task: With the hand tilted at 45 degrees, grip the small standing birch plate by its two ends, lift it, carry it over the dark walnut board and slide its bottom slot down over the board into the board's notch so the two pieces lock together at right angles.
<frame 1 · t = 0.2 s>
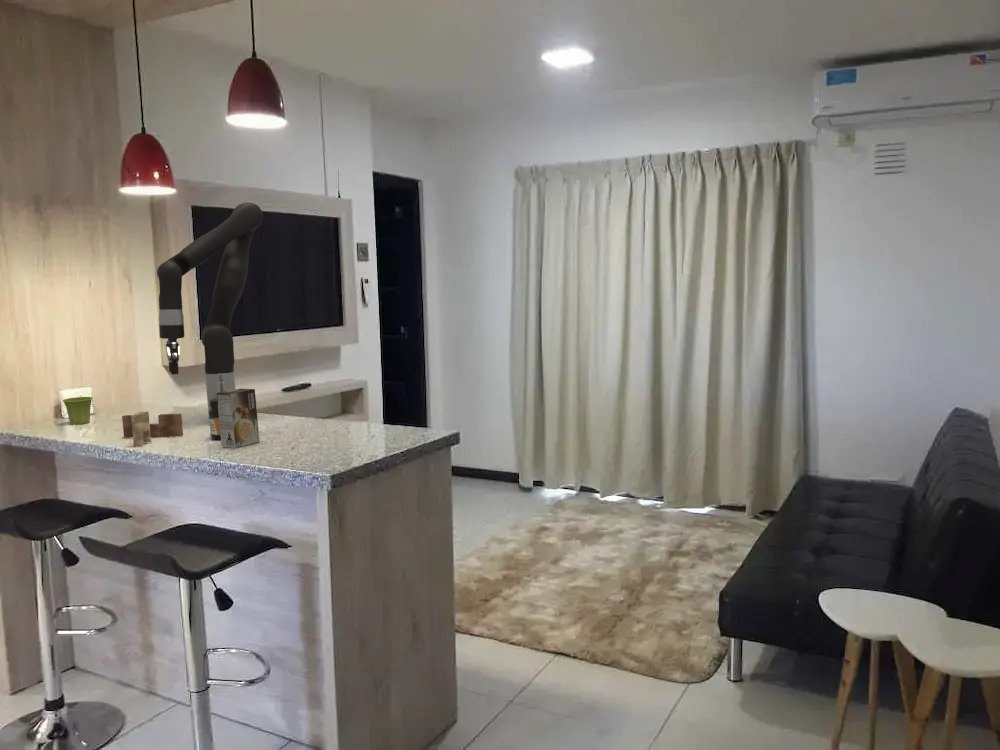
hand: (173, 373, 267), 18 cm above the worktop, tool pointing down, fingers open, 8 cm apart
plant pot: (80, 423, 286), on the worktop
supplement container: (228, 437, 251), on the worktop
coffee box: (240, 445, 239), on the worktop
birch plate: (142, 444, 245), on the worktop
walnut board: (153, 436, 256), on the worktop
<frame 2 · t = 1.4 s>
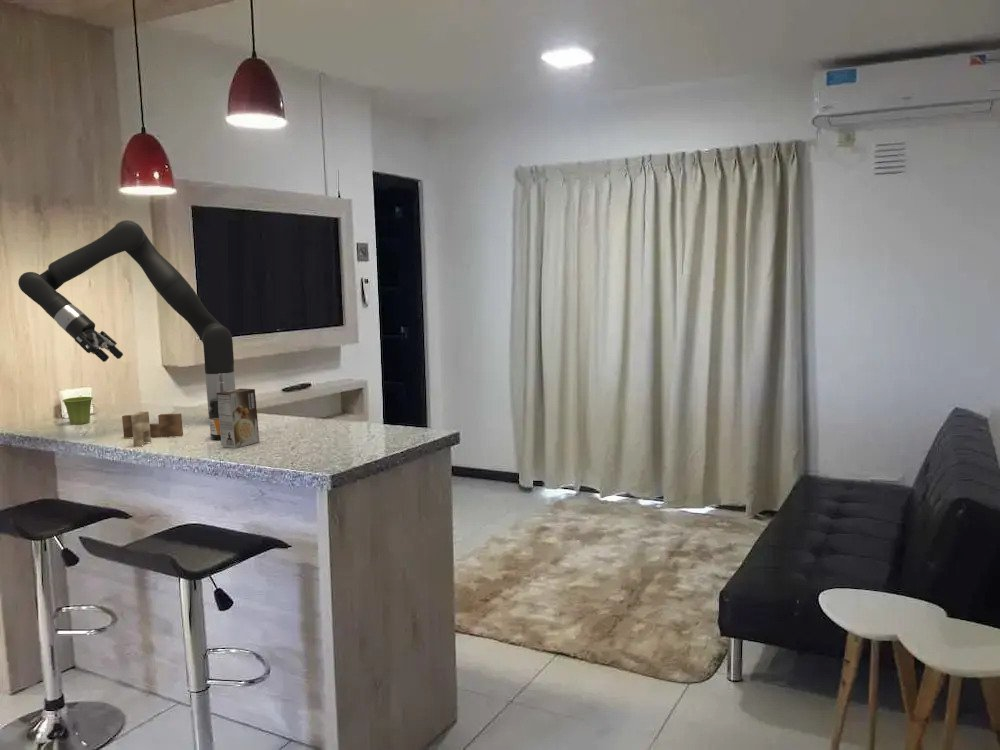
hand: (114, 358, 253), 25 cm above the worktop, tool tilted 45°, fingers open, 8 cm apart
nothing on the worktop moved.
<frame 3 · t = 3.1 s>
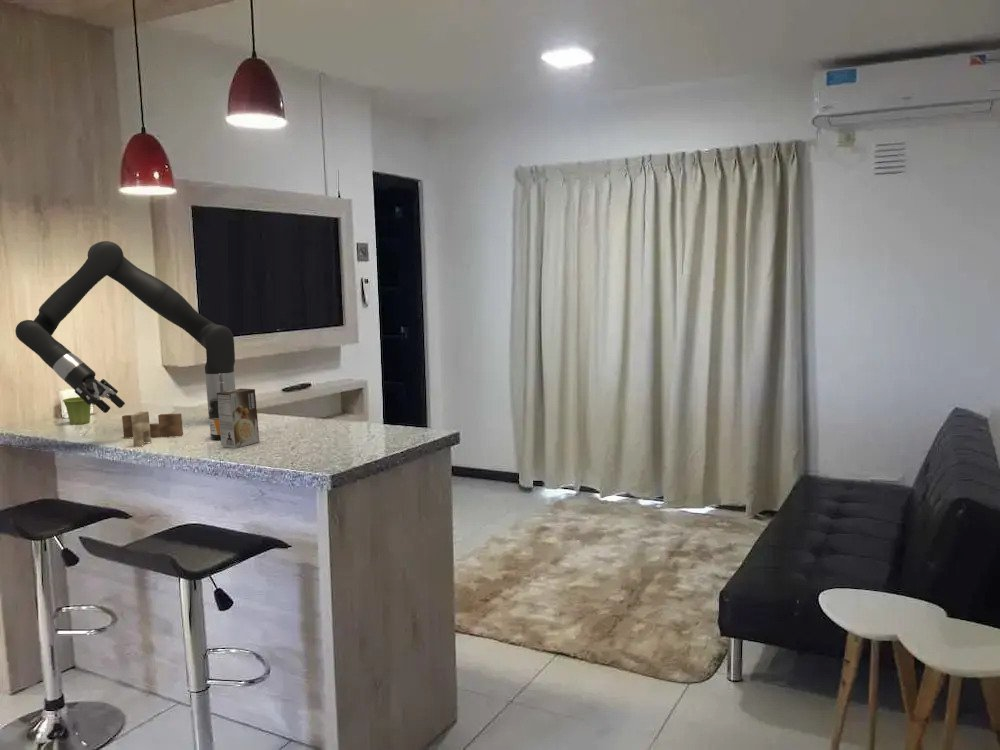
hand: (115, 408, 244), 11 cm above the worktop, tool tilted 45°, fingers open, 8 cm apart
nothing on the worktop moved.
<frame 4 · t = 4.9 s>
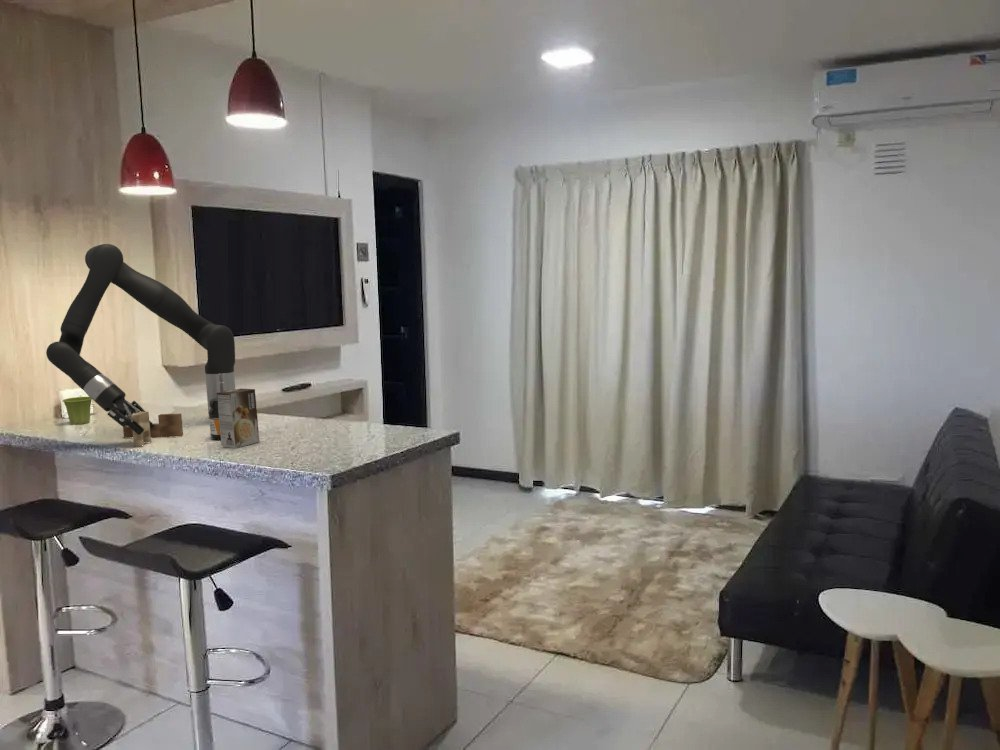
hand: (147, 430, 244), 4 cm above the worktop, tool tilted 45°, fingers closed on birch plate, 6 cm apart
birch plate: (142, 444, 245), on the worktop, touching gripper
everything else where it was.
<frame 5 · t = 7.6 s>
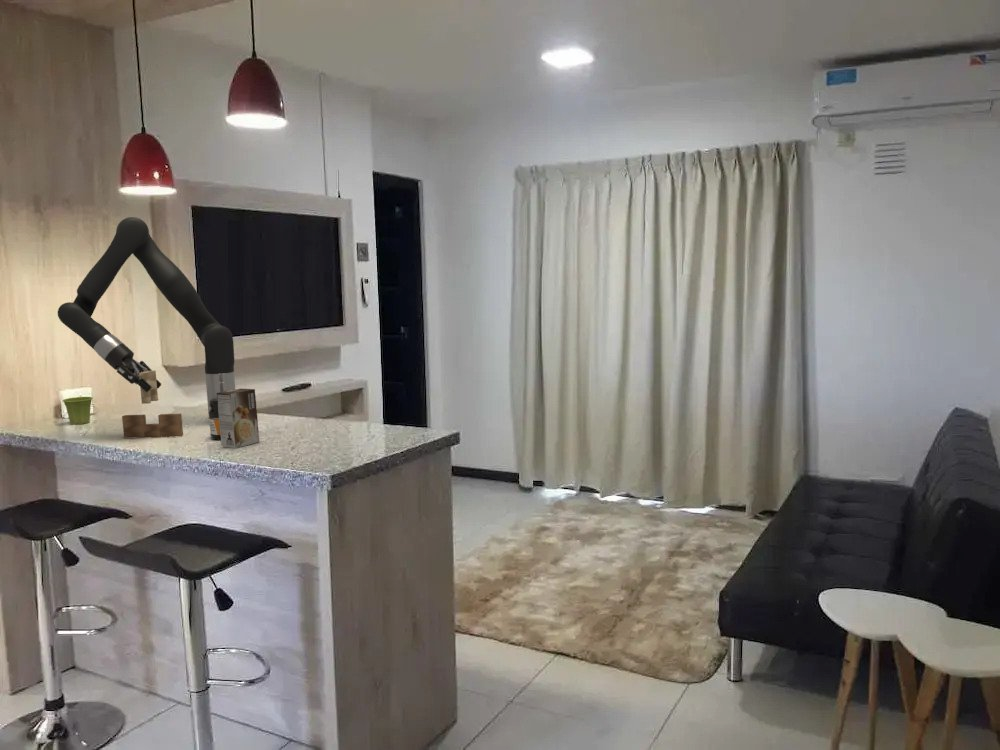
hand: (154, 388, 254), 15 cm above the worktop, tool tilted 45°, fingers closed on birch plate, 6 cm apart
birch plate: (150, 402, 255), point 11 cm above the worktop, touching gripper
everything else where it was.
when the fingers open (6 cm above the worktop, at t = 10.2 s): birch plate drops 1 cm, resting on walnut board.
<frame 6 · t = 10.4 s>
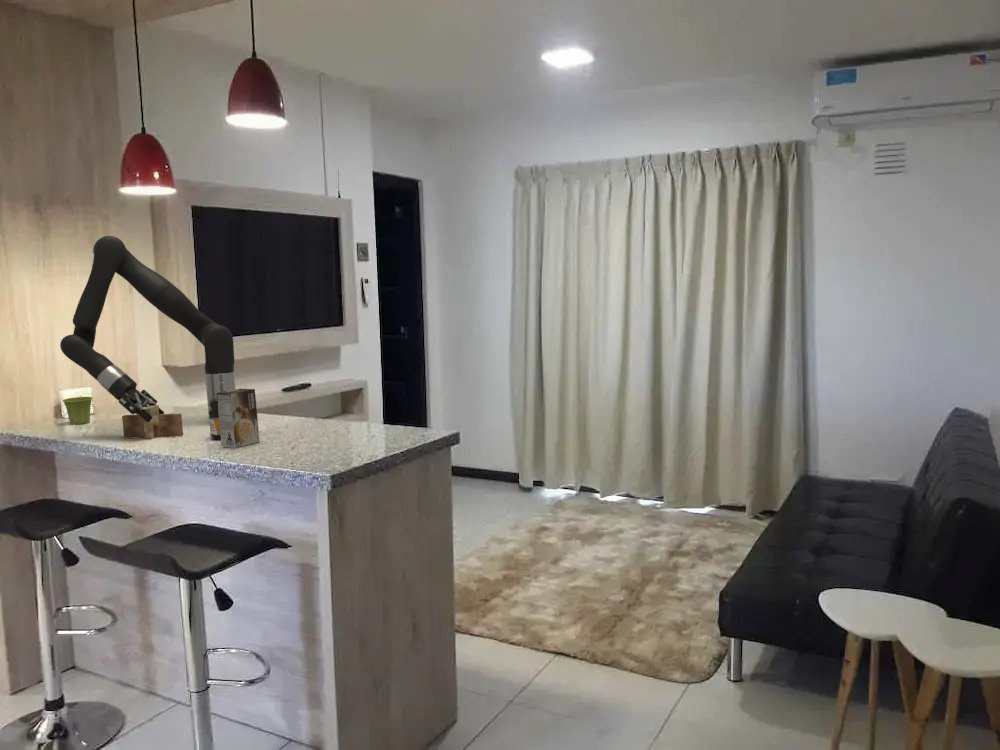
hand: (156, 417, 255), 6 cm above the worktop, tool tilted 45°, fingers open, 7 cm apart
birch plate: (153, 436, 256), resting on walnut board
everything else where it was.
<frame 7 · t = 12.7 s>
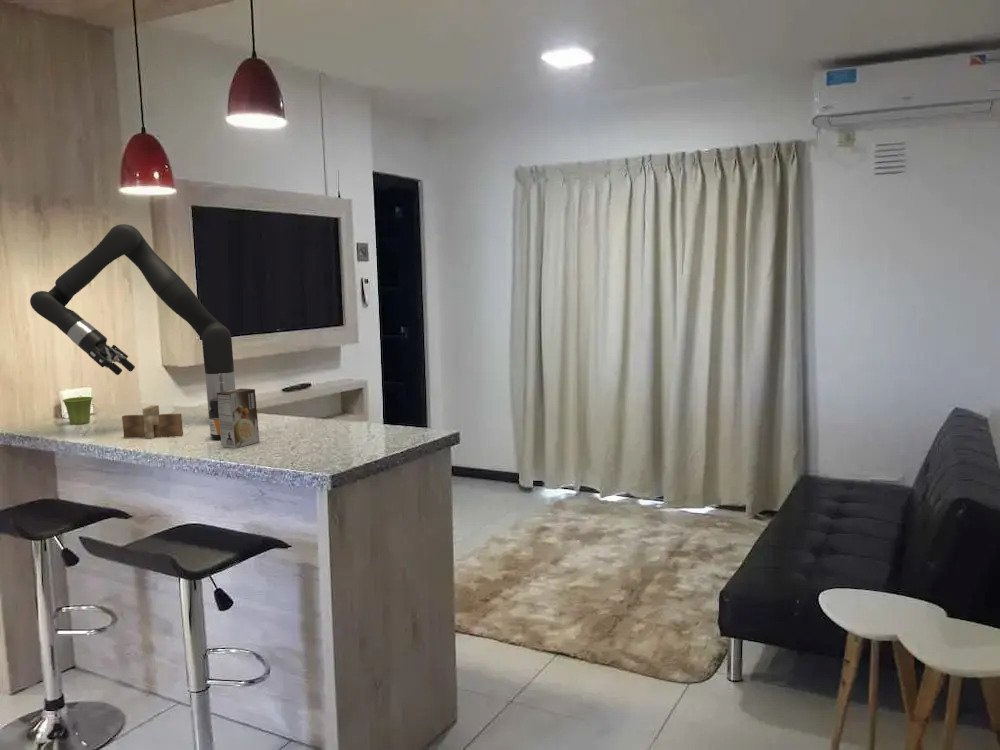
hand: (126, 371, 261), 20 cm above the worktop, tool tilted 45°, fingers open, 8 cm apart
nothing on the worktop moved.
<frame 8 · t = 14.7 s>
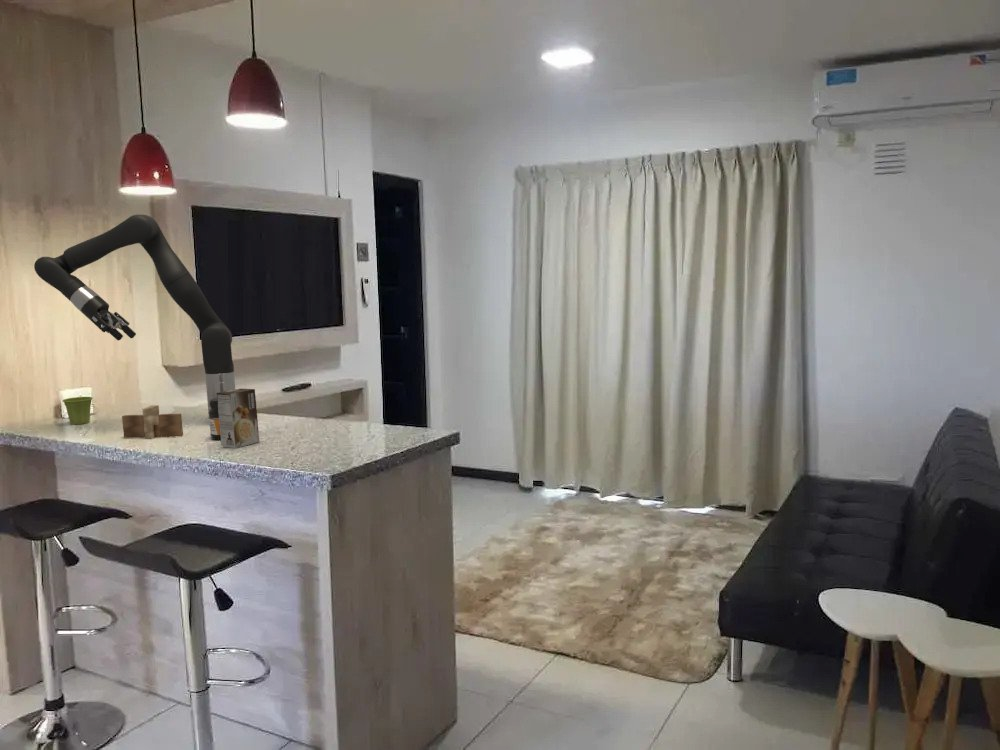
hand: (127, 337, 265), 31 cm above the worktop, tool tilted 45°, fingers open, 8 cm apart
nothing on the worktop moved.
at the end: birch plate 0.1 cm off-centre on the walnut board, point 0.0 cm above the walnut board's base; birch plate tilted 0°; the gripper is holding nothing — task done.
